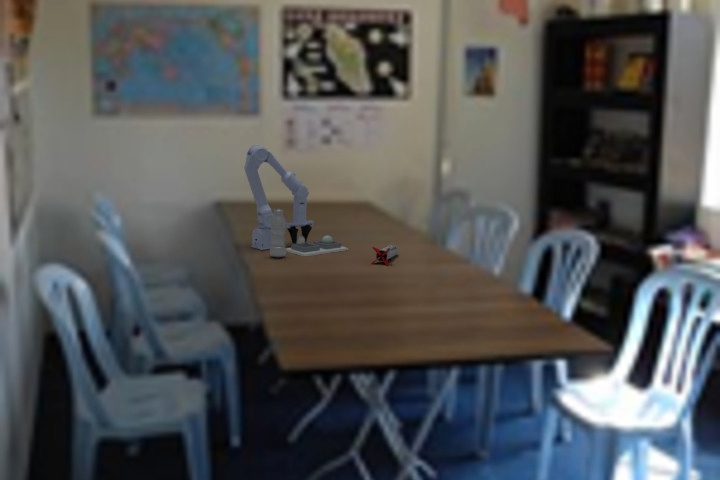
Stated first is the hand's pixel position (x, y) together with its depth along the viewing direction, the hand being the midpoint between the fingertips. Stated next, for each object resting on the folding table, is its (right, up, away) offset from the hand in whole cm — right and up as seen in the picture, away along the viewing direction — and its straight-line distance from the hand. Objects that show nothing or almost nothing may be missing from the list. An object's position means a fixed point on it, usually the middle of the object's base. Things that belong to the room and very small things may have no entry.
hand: (299, 242), depth 378 cm
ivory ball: (0, +1, 0) cm, 1 cm away
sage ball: (+13, +1, -5) cm, 14 cm away
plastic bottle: (-7, -6, -24) cm, 26 cm away
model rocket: (+38, -7, -22) cm, 44 cm away
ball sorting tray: (+8, -3, -8) cm, 12 cm away
